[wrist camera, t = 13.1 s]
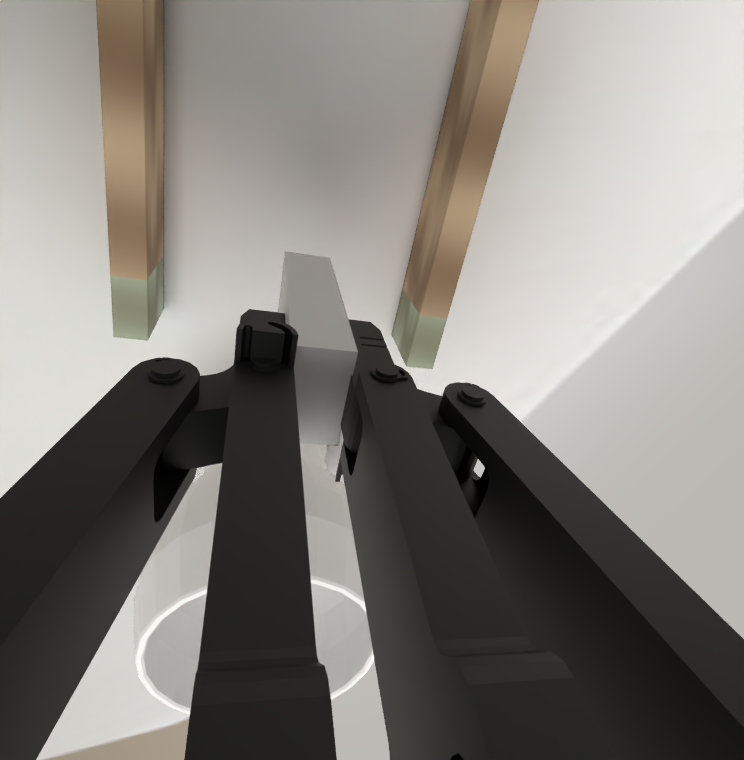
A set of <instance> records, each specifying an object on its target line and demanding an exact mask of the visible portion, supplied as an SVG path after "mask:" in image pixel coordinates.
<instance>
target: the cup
mask: <svg viewBox="0 0 744 760" xmlns="http://www.w3.org/2000/svg"><path fill="white" fill-rule="evenodd" d="M300 450H301V463H302V475H303V488H304V501H305V513H306V526H307V539H308V551H309V564H310V577H311V589H312V602H313V615H314V627H315V640H316V650H317V657H318V661H319V663H321V664H323V665H324V666H325V669H326V672H327V675H328V682H329V689H330V696H331V700H332V699H333V698H335V697H336V696H338V695H340V694H341V693H343V692H345V691H346V690H348V689H349V688H351V687H352V686H353V685H354V684H355V683H356V682H357V681H358V680H359V679H360V678H361V677H362V676H364V675H365V674H366V673H367V671H368V670H369V668H370V667H371V665H372V663H373V662H374V654H373V648H372V642H371V636H370V630H369V625H368V619H367V613H366V607H365V601H364V595H363V589H362V583H361V577H360V572H359V566H358V560H357V554H356V548H355V542H354V536H353V530H352V524H351V519H350V513H349V507H348V501H347V495H346V489H345V485H344V484H343V483H342V482H335V479H336V477H334V476H333V475H332V474H331V473H330V472H329V471H328V468H327V465H326V463H325V460H326V452H327V445H317V444H300ZM221 470H222V463H220V464H214V465H209V466H206V468H205V471H204V473H203V475H202V476H200V477H199V478H198V479H197V480H195V481H194V482H193V483H192V484H191V485H190V486H189V488H188V490H187V492H186V494H185V495H184V497H183V499H182V501H181V502H180V504H179V506H178V508H177V510H176V511H175V513H174V515H173V517H172V518H171V520H170V522H169V524H168V526H167V527H166V529H165V531H164V533H163V534H162V536H161V538H160V540H159V542H158V543H157V545H156V547H155V549H154V550H153V552H152V554H151V556H150V558H149V559H148V561H147V563H146V565H145V567H144V568H143V570H142V572H141V574H140V577H139V581H138V585H137V589H136V593H135V597H134V657H135V662H136V667H137V672H138V676H139V678H140V680H141V681H142V682H143V684H144V685H145V687H146V688H147V689H148V691H149V692H150V693H151V695H153V696H154V697H156V698H157V699H159V700H160V701H161V702H163V703H164V704H166V705H167V706H169V707H170V708H173V709H176V710H178V711H181V712H184V713H186V714H189V715H190V711H191V703H192V695H193V687H194V681H195V675H196V672H197V668H198V662H199V654H200V646H201V637H202V629H203V621H204V612H205V604H206V595H207V587H208V579H209V570H210V562H211V553H212V545H213V537H214V528H215V520H216V511H217V503H218V495H219V486H220V478H221Z"/></svg>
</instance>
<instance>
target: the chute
mask: <svg viewBox="0 0 744 760" xmlns="http://www.w3.org/2000/svg"><path fill="white" fill-rule="evenodd" d="M538 2H539V0H471V2H470V6H469V10H468V15H467V19H466V23H465V27H464V31H463V36H462V40H461V44H460V48H459V53H458V57H457V61H456V65H455V69H454V74H453V78H452V82H451V86H450V91H449V95H448V99H447V103H446V107H445V112H444V116H443V120H442V124H441V129H440V133H439V137H438V141H437V146H436V150H435V154H434V158H433V162H432V167H431V171H430V175H429V179H428V184H427V188H426V192H425V196H424V200H423V205H422V209H421V213H420V217H419V222H418V226H417V230H416V234H415V238H414V243H413V247H412V251H411V255H410V260H409V264H408V268H407V272H406V276H405V281H404V285H403V289H402V293H401V298H400V302H399V306H398V310H397V314H396V319H395V323H394V327H393V331H392V337H393V339H394V341H395V343H396V345H397V347H398V350H399V352H400V354H401V356H402V358H403V360H404V362H405V364H406V366H408V367H418V368H428V369H433V365H434V362H435V358H436V355H437V351H438V348H439V344H440V341H441V338H442V334H443V331H444V327H445V324H446V320H447V317H448V313H449V310H450V306H451V303H452V299H453V296H454V293H455V289H456V286H457V282H458V279H459V275H460V272H461V268H462V265H463V261H464V258H465V255H466V251H467V248H468V244H469V241H470V237H471V234H472V230H473V227H474V223H475V220H476V216H477V213H478V210H479V206H480V203H481V199H482V196H483V192H484V189H485V185H486V182H487V178H488V175H489V172H490V168H491V165H492V161H493V158H494V154H495V151H496V147H497V144H498V140H499V137H500V133H501V130H502V127H503V123H504V120H505V116H506V113H507V109H508V106H509V102H510V99H511V95H512V92H513V89H514V85H515V82H516V78H517V75H518V71H519V68H520V64H521V61H522V57H523V54H524V50H525V47H526V44H527V40H528V37H529V33H530V30H531V26H532V23H533V19H534V16H535V12H536V9H537V6H538ZM96 5H97V25H98V44H99V63H100V83H101V102H102V122H103V141H104V160H105V180H106V199H107V219H108V238H109V257H110V277H111V296H112V316H113V335H114V337H119V338H129V339H139V340H148V339H149V337H150V335H151V333H152V331H153V329H154V327H155V325H156V323H157V321H158V319H159V317H160V315H161V313H162V311H163V309H164V0H96Z"/></svg>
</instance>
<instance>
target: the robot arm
mask: <svg viewBox="0 0 744 760" xmlns="http://www.w3.org/2000/svg"><path fill="white" fill-rule="evenodd" d="M341 429H342V434H343V439H344V441H343V446H342V450H341V455H340V459H339V464H338V468H337V473H336V479H335V482H340V478H341V475H342V474H343V477H344V483H345V489H346V495H347V501H348V507H349V513H350V519H351V524H352V530H353V536H354V542H355V548H356V554H357V560H358V566H359V572H360V577H361V583H362V589H363V595H364V601H365V607H366V613H367V619H368V625H369V630H370V636H371V642H372V648H373V654H374V660H375V666H376V671H377V677H378V684H379V689H380V695H381V701H382V707H383V713H384V719H385V725H386V731H387V736H388V742H389V751H390V760H744V639H743V638H742V637H741V636H740V635H739V634H738V633H737V632H736V631H735V630H734V629H732V627H730V626H729V625H728V624H727V623H726V622H725V621H724V620H723V619H722V618H721V617H720V616H719V615H718V614H717V613H716V612H715V611H714V610H713V609H712V608H711V607H710V606H709V605H708V604H707V603H706V602H705V601H704V600H703V599H701V597H700V596H699V595H698V594H697V593H696V592H695V591H693V590H692V589H691V588H690V587H689V586H688V585H687V584H686V583H685V582H684V581H683V580H682V579H681V578H680V577H679V576H678V575H677V574H676V573H675V572H674V571H673V570H672V569H671V568H670V567H669V566H668V565H667V564H666V563H665V562H663V560H662V559H661V558H660V557H659V556H657V555H656V554H655V553H654V552H653V551H652V550H651V549H650V548H649V547H648V546H647V545H646V544H645V543H644V542H643V541H642V540H641V539H640V538H639V537H638V536H637V535H636V534H635V533H634V532H633V531H632V530H631V529H630V528H629V527H628V526H627V525H626V524H625V523H624V522H623V521H622V520H621V519H619V518H618V517H617V516H616V515H615V514H614V513H613V512H612V511H611V510H610V509H609V508H608V507H607V506H606V505H605V504H604V503H603V502H602V501H601V500H600V499H599V498H598V497H597V496H596V495H595V494H594V493H593V492H592V491H591V490H590V489H589V488H588V487H586V485H584V483H582V482H581V481H580V480H579V479H578V478H577V477H576V476H575V475H574V474H573V473H572V472H571V471H570V470H569V469H568V468H567V467H566V466H565V465H564V464H563V463H562V462H561V461H560V460H559V459H558V458H557V457H556V456H555V455H553V453H552V452H551V451H550V450H549V449H548V448H546V447H545V446H544V445H543V444H542V443H541V442H540V441H539V440H538V439H537V438H536V437H535V436H534V435H533V434H532V433H531V432H530V431H529V430H528V429H527V428H526V427H525V426H524V425H523V424H522V423H521V422H520V421H519V420H518V419H517V418H516V417H515V416H514V415H513V414H512V413H511V412H509V411H508V410H507V409H506V408H505V407H504V406H503V405H502V404H501V403H500V402H499V401H498V400H497V399H496V398H495V397H494V396H493V395H492V394H490V393H489V392H488V391H486V390H484V389H482V388H480V387H479V386H477V385H474V384H472V385H471V384H470V383H452V384H449V385H448V386H447V387H445V390H444V393H443V396H439V395H435V394H432V393H428V392H425V391H422V390H419V389H417V388H416V385H415V383H414V381H413V379H412V377H411V376H410V374H409V373H408V372H407V371H405V370H404V369H403V368H401V367H399V366H396V365H394V363H393V360H392V358H391V356H390V353H389V351H388V348H387V346H386V343H385V341H384V338H383V336H382V333H381V331H380V330H379V329H378V328H377V327H376V326H374V325H373V324H372V323H371V322H365V321H357V320H348V317H347V314H346V310H345V307H344V304H343V300H342V297H341V294H340V290H339V287H338V284H337V280H336V277H335V274H334V270H333V267H332V264H331V260H330V258H325V257H319V256H312V255H305V254H298V253H291V252H285V256H284V264H283V273H282V281H281V290H280V298H279V307H278V313H277V312H269V311H260V310H251V309H249V310H248V311H247V312H245V313H244V314H243V315H242V316H241V319H240V324H239V326H238V327H237V333H236V346H235V360H234V365H233V366H232V367H231V368H229V369H227V370H226V371H224V372H221V373H218V374H212V375H205V376H200V373H199V371H198V369H197V368H196V367H195V366H193V365H192V364H191V363H189V362H186V361H183V360H180V359H172V358H155V359H151V360H147V361H144V362H141V363H139V364H138V365H136V366H135V367H133V368H132V369H131V370H130V371H129V372H128V373H127V374H126V375H125V376H124V377H123V378H122V379H121V380H120V381H119V382H118V383H117V384H116V385H115V386H114V387H113V388H112V389H111V390H110V391H109V392H108V393H107V394H106V395H105V396H104V397H103V398H102V399H101V400H100V401H99V402H98V403H97V404H96V405H95V406H94V407H93V408H92V409H91V410H90V411H89V412H88V413H87V414H85V415H84V416H83V417H82V418H81V419H80V420H79V421H78V422H77V423H76V424H75V425H74V426H73V427H72V428H71V429H70V430H69V431H68V432H67V433H66V434H65V435H64V436H63V437H62V438H61V439H60V440H59V441H58V442H57V443H56V444H55V445H54V446H53V447H52V448H51V449H50V450H49V451H48V452H47V453H46V454H45V455H44V456H43V457H42V458H41V459H40V460H39V461H38V462H37V463H36V464H35V465H34V466H33V467H32V468H31V469H30V470H29V471H28V472H27V473H26V474H25V475H24V476H22V477H21V478H20V479H19V480H18V481H17V482H16V483H15V484H14V485H13V486H12V487H11V488H10V489H9V490H8V491H7V492H6V493H5V494H4V495H3V496H2V497H1V498H0V760H36V759H37V757H38V755H39V753H40V752H41V750H42V748H43V746H44V744H45V743H46V741H47V739H48V737H49V736H50V734H51V732H52V730H53V728H54V727H55V725H56V723H57V721H58V719H59V718H60V716H61V714H62V712H63V711H64V709H65V707H66V705H67V703H68V702H69V700H70V698H71V696H72V695H73V693H74V691H75V689H76V687H77V686H78V684H79V682H80V680H81V679H82V677H83V675H84V673H85V671H86V670H87V668H88V666H89V664H90V663H91V661H92V659H93V657H94V655H95V654H96V652H97V650H98V648H99V647H100V645H101V643H102V641H103V639H104V638H105V636H106V634H107V632H108V631H109V629H110V627H111V625H112V623H113V622H114V620H115V618H116V616H117V615H118V613H119V611H120V609H121V607H122V606H123V604H124V602H125V600H126V599H127V597H128V595H129V593H130V591H131V590H132V588H133V586H134V584H135V583H136V581H137V579H138V577H139V575H140V574H141V572H142V570H143V568H144V567H145V565H146V563H147V561H148V559H149V558H150V556H151V554H152V552H153V550H154V549H155V547H156V545H157V543H158V542H159V540H160V538H161V536H162V534H163V533H164V531H165V529H166V527H167V526H168V524H169V522H170V520H171V518H172V517H173V515H174V513H175V511H176V510H177V508H178V506H179V504H180V502H181V501H182V499H183V497H184V495H185V494H186V492H187V490H188V488H189V486H190V485H191V483H192V481H193V479H194V478H195V474H196V470H197V468H198V467H204V466H209V465H214V464H220V463H222V470H221V478H220V486H219V495H218V503H217V511H216V520H215V528H214V537H213V545H212V553H211V562H210V570H209V579H208V587H207V595H206V604H205V612H204V621H203V629H202V637H201V646H200V654H199V662H198V668H197V672H196V675H195V681H194V687H193V695H192V703H191V711H190V719H189V727H188V735H187V743H186V751H185V759H184V760H337V759H336V749H335V738H334V728H333V719H332V718H333V717H332V707H331V696H330V689H329V682H328V675H327V672H326V669H325V666H324V665H323V664H321V663H319V661H318V657H317V650H316V640H315V627H314V615H313V602H312V589H311V577H310V564H309V551H308V539H307V526H306V513H305V501H304V488H303V475H302V463H301V450H300V444H317V445H336V446H338V443H339V438H340V433H341ZM477 459H479V460H480V461H481V463H482V464H483V465H484V467H485V470H484V472H483V475H482V476H481V478H480V477H479V476H477V474H476V473H475V472H474V471H473V469H474V467H475V464H476V462H477Z"/></svg>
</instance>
